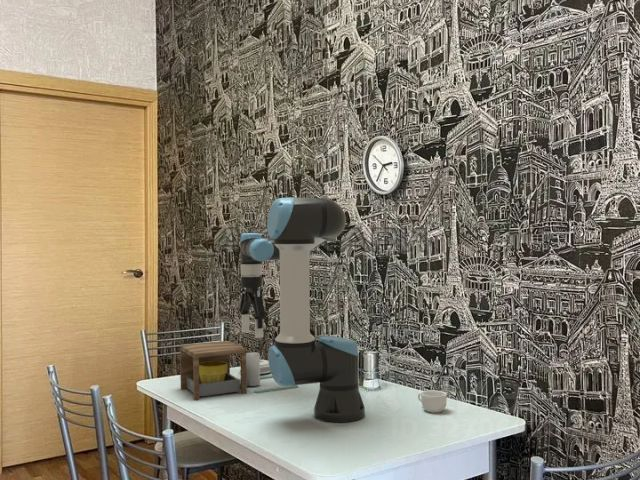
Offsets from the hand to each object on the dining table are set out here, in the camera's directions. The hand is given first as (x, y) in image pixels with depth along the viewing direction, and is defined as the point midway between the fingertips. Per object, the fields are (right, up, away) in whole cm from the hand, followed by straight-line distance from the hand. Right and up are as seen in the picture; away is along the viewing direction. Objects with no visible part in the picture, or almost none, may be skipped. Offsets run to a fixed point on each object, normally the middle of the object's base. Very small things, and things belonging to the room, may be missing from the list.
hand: (252, 334), depth 226 cm
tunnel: (-13, -19, -7) cm, 24 cm away
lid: (-1, -19, +22) cm, 29 cm away
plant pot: (-13, -19, -7) cm, 24 cm away
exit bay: (+5, -18, +2) cm, 19 cm away
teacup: (+58, -18, -34) cm, 70 cm away
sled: (-9, -18, -5) cm, 20 cm away
